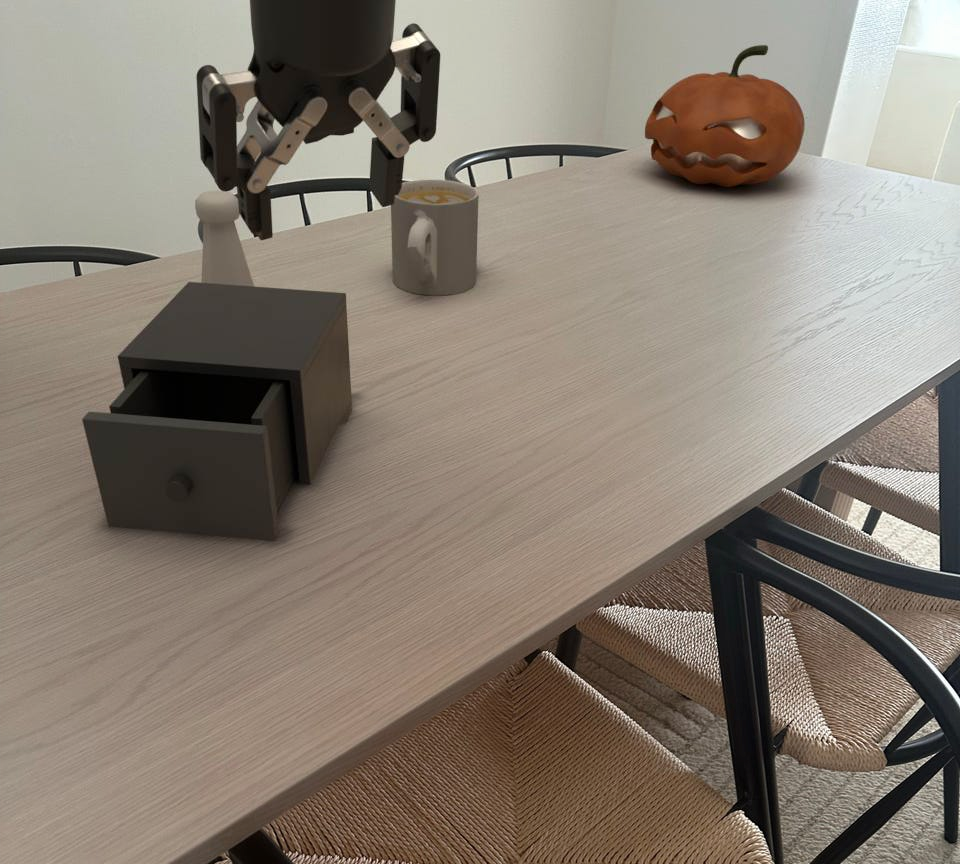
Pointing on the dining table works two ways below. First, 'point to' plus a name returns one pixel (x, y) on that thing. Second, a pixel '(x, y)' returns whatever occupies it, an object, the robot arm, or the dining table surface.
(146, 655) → the dining table surface
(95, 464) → the dark grey drawer
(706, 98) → the pumpkin
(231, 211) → the salt shaker
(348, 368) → the dark grey drawer box
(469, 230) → the coffee mug
